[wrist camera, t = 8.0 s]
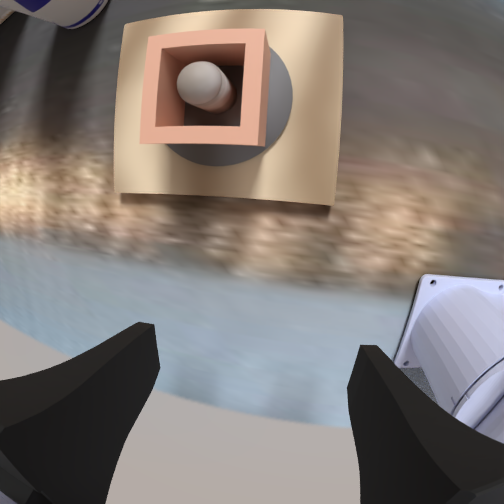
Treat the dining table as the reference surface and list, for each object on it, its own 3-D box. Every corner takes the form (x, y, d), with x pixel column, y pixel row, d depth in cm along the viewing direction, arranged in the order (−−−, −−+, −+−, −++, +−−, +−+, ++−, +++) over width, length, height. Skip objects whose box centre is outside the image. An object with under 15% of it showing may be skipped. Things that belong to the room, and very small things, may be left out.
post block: (340, 21, 14) (358, -24, 9) (331, 203, 18) (349, 227, 13) (131, 28, 16) (83, 0, 10) (121, 190, 20) (67, 208, 14)
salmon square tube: (270, 54, 15) (264, 28, 11) (265, 146, 16) (257, 145, 13) (176, 56, 15) (148, 36, 11) (170, 144, 17) (139, 144, 13)
